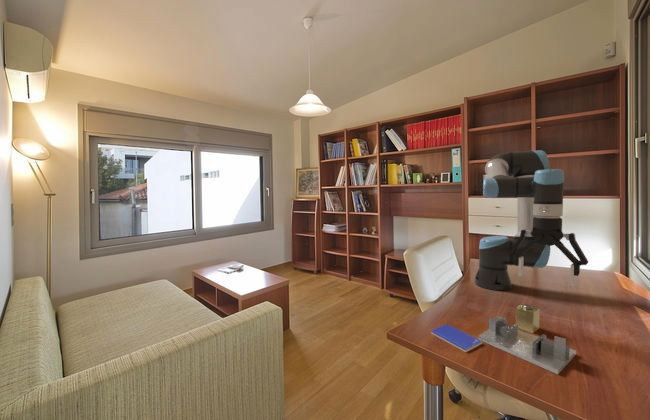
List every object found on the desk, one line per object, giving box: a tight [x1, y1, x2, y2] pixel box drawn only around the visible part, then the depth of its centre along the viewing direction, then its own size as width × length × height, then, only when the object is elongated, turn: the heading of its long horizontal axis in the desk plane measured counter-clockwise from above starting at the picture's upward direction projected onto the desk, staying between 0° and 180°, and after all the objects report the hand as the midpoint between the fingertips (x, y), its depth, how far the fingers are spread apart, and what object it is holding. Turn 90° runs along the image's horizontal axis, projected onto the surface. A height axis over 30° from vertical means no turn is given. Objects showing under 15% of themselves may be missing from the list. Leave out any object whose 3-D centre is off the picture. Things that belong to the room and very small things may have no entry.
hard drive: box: [430, 324, 483, 353], centre depth 88 cm, size 2×8×12 cm
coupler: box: [515, 303, 541, 334], centre depth 92 cm, size 5×5×8 cm
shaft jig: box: [477, 315, 577, 375], centre depth 82 cm, size 20×14×5 cm
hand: (544, 280), depth 92 cm, fingers open, 13 cm apart
